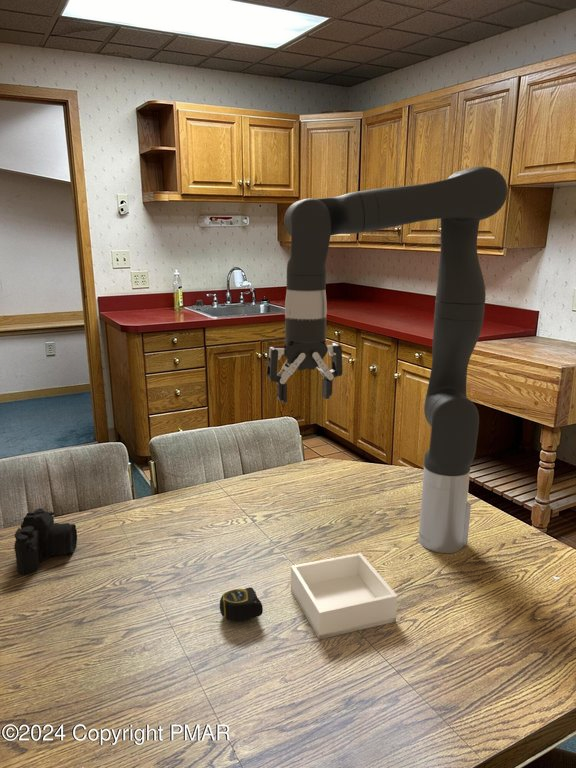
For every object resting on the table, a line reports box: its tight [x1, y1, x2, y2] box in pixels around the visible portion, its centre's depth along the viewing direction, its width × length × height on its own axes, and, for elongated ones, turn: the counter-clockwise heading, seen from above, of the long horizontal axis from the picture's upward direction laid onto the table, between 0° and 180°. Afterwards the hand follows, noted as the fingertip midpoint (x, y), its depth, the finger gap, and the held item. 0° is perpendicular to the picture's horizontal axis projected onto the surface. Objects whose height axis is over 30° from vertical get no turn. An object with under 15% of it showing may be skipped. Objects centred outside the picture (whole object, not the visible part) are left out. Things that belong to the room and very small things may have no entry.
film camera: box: [13, 507, 78, 576], centre depth 115 cm, size 15×10×9 cm, turn 6°
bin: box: [290, 552, 398, 640], centre depth 100 cm, size 14×14×5 cm
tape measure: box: [219, 587, 264, 623], centre depth 97 cm, size 7×7×4 cm
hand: (304, 400), depth 107 cm, fingers open, 8 cm apart
